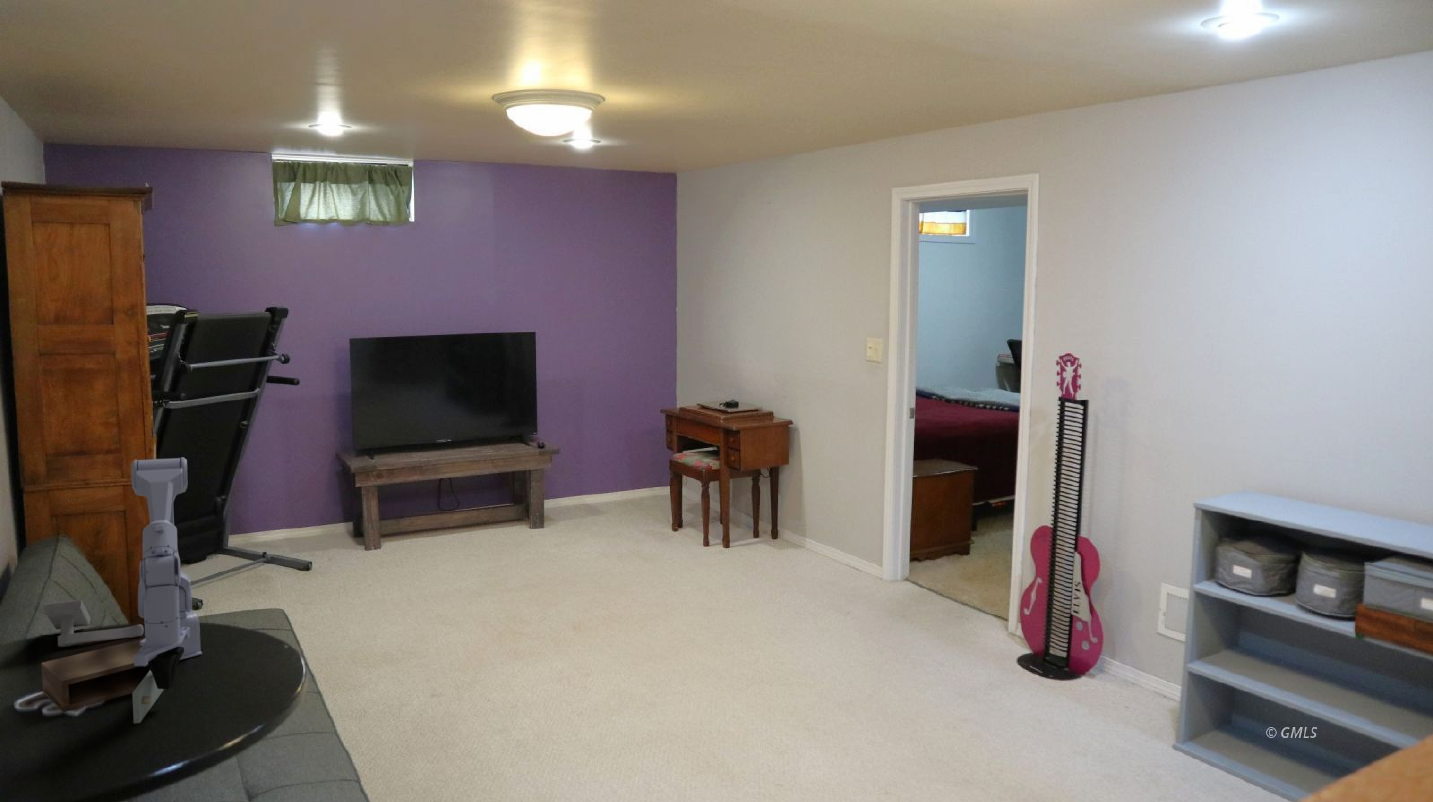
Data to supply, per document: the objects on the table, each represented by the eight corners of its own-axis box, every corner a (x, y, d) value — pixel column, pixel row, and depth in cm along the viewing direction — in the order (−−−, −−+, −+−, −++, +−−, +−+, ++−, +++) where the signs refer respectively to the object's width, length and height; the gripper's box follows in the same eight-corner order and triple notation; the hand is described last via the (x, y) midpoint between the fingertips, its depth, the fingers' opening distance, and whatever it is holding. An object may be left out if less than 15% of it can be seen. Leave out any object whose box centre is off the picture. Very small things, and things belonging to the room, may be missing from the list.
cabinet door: (162, 684, 190) (161, 656, 190) (173, 683, 191) (172, 655, 190) (133, 723, 174) (132, 692, 173) (146, 722, 174) (144, 691, 174)
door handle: (55, 658, 216) (43, 642, 199) (54, 623, 218) (42, 604, 202) (146, 644, 224) (141, 628, 208) (144, 610, 227) (140, 591, 211)
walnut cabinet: (145, 665, 199) (144, 638, 198) (168, 683, 191) (167, 654, 191) (43, 692, 185) (41, 662, 185) (63, 711, 178) (61, 681, 177)
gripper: (164, 604, 187) (166, 670, 189) (116, 631, 173) (119, 703, 175) (199, 606, 187) (202, 672, 189) (154, 633, 173) (157, 704, 174)
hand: (164, 687), depth 182 cm, fingers closed
